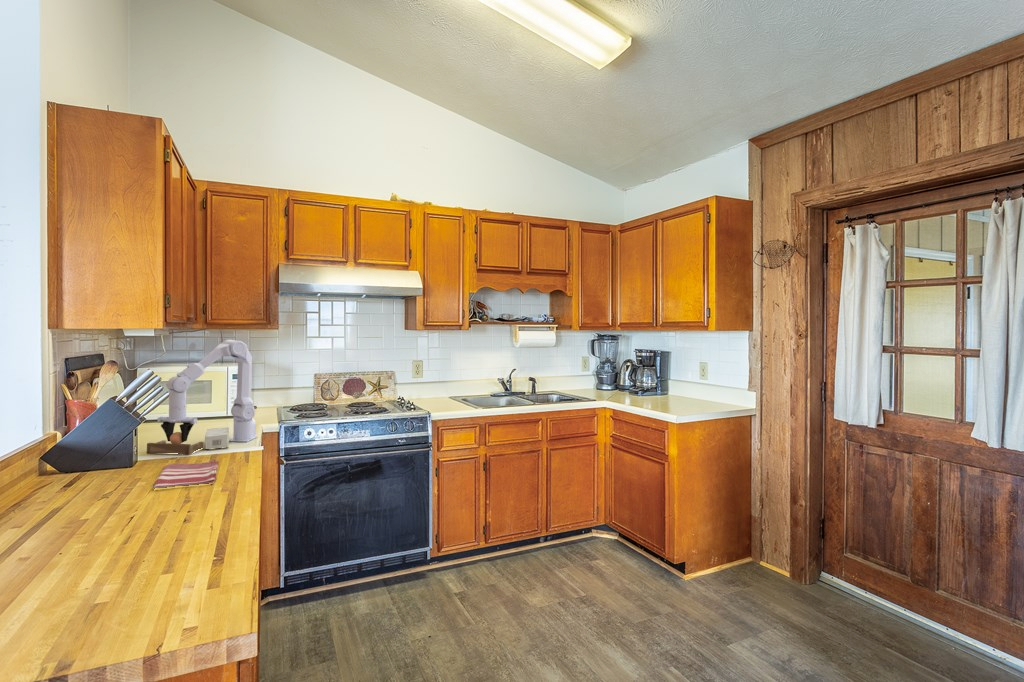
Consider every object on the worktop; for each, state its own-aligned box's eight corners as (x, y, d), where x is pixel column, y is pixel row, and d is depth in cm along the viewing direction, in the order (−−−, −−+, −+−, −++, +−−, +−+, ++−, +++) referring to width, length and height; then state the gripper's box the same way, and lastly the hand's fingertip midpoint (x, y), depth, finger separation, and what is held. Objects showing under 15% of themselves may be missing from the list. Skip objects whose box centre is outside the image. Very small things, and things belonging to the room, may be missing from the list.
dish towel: (219, 466, 183) (219, 459, 183) (214, 486, 162) (215, 478, 162) (163, 471, 175) (163, 464, 175) (151, 493, 154) (151, 484, 154)
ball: (175, 442, 201) (175, 430, 201) (187, 443, 201) (187, 431, 201) (166, 445, 196) (166, 433, 196) (179, 446, 196) (179, 433, 196)
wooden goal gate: (163, 447, 203) (163, 437, 203) (204, 449, 203) (204, 439, 203) (146, 453, 194) (146, 443, 193) (189, 455, 194) (189, 444, 193)
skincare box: (204, 436, 201) (206, 428, 213) (205, 451, 201) (206, 442, 214) (229, 434, 205) (228, 426, 218) (229, 448, 205) (228, 439, 218)
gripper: (152, 408, 194) (151, 442, 195) (189, 409, 194) (189, 444, 195) (164, 405, 201) (164, 438, 202) (200, 406, 201) (200, 439, 202)
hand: (177, 441), depth 199 cm, fingers closed on ball, 5 cm apart
